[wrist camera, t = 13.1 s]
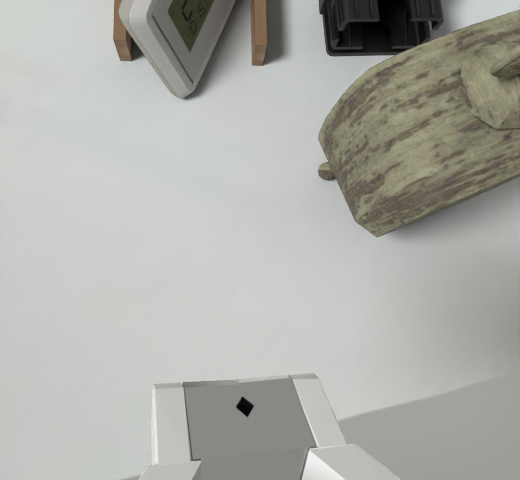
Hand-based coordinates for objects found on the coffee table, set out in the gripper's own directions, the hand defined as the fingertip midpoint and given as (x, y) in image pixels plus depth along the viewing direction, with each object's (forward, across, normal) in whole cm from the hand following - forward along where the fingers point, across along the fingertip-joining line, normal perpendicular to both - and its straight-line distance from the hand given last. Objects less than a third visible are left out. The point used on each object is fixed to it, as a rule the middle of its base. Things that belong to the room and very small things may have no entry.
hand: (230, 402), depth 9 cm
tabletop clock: (+33, +21, -9) cm, 40 cm away
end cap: (+43, +20, +4) cm, 48 cm away
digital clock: (+44, +4, +2) cm, 45 cm away
